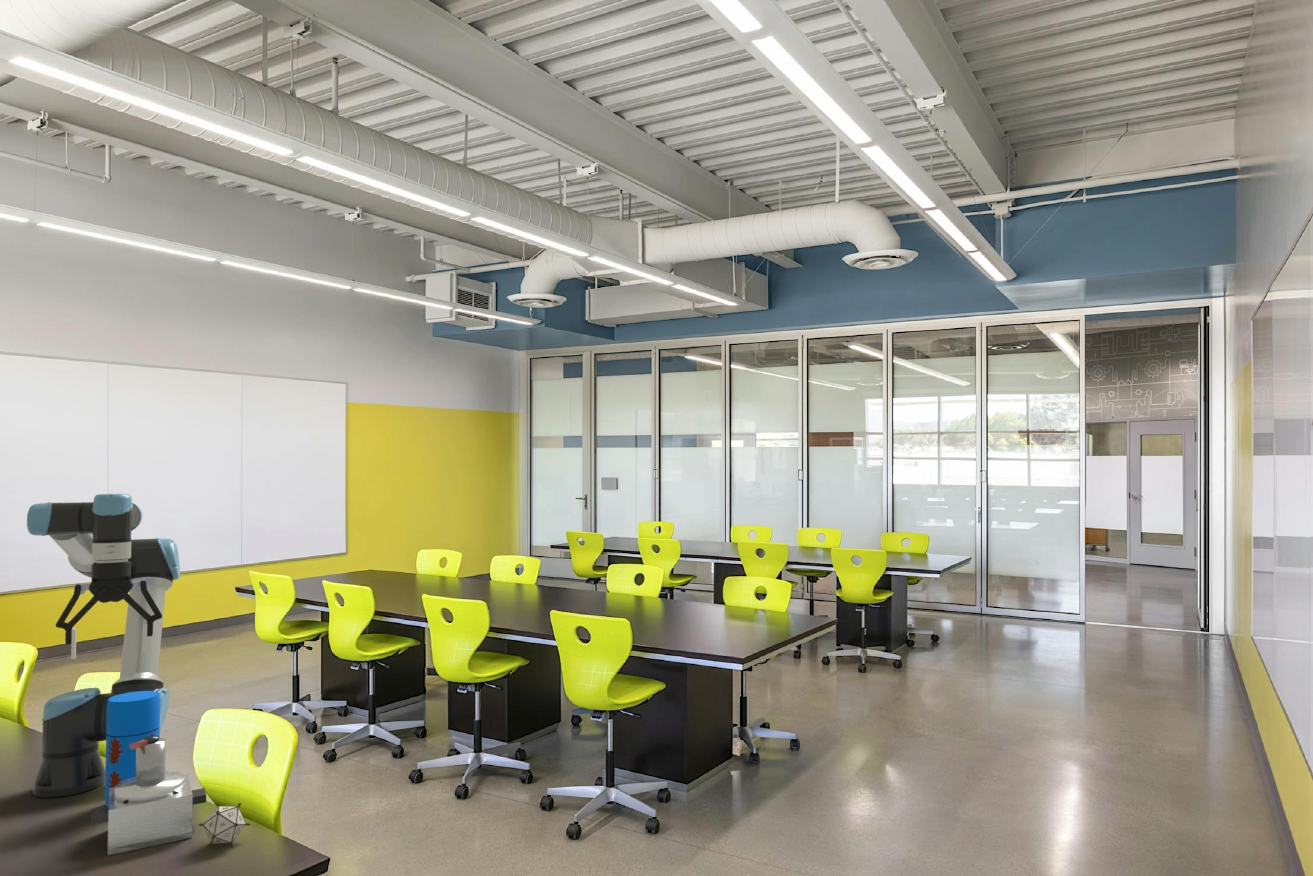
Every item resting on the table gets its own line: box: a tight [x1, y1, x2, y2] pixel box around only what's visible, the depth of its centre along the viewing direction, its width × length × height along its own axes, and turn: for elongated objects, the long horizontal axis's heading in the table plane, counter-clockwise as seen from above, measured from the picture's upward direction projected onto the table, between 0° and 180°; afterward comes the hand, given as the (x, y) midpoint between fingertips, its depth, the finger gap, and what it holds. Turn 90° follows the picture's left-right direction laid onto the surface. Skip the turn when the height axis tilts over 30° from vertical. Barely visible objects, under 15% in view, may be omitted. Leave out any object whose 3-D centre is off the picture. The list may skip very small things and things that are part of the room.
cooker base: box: [90, 774, 207, 856], centre depth 180 cm, size 15×21×9 cm
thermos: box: [104, 691, 161, 806], centre depth 198 cm, size 11×11×25 cm
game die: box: [198, 802, 251, 848], centre depth 174 cm, size 9×8×10 cm
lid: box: [114, 735, 186, 803], centre depth 180 cm, size 13×13×14 cm
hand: (109, 654), depth 190 cm, fingers open, 13 cm apart
